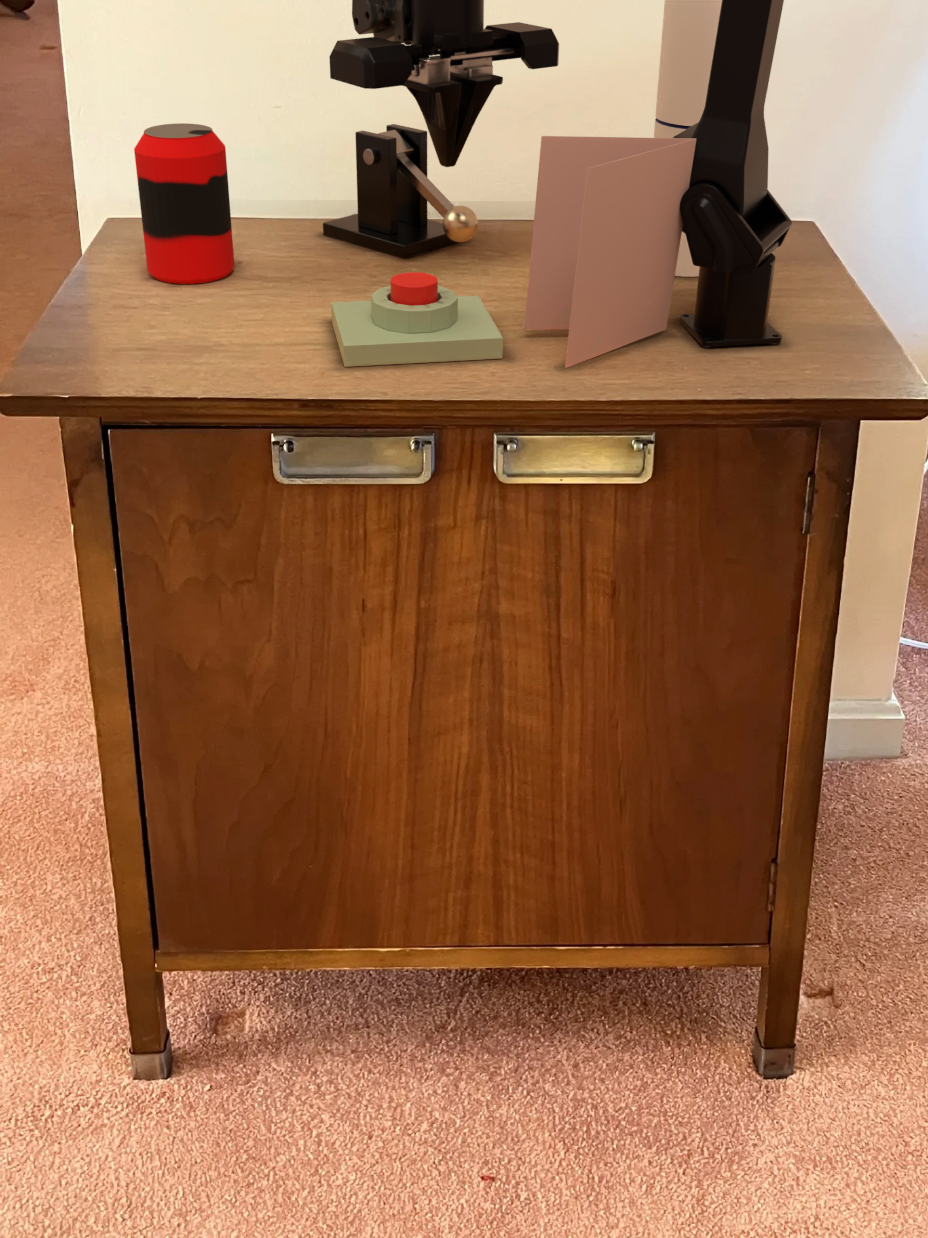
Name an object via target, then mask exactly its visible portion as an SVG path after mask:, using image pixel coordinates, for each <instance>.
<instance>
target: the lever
mask: <svg viewBox="0 0 928 1238" xmlns="http://www.w3.org/2000/svg"><path fill="white" fill-rule="evenodd" d="M377 134H381V135H385V136H390V137H394V138H396V144H397V172H398V171H400V172H401V173H402V174H403V176H404V177H405V178H406V179H407V180H408V181H409V182H410V183H411V184H412V185H413V186H414V187H415V188H416V189H417V190H418V191H419V192H420V194H421V195H422V196H423V197H424V198H425V199H426V200H427V203H429V204H430V206H432V208H434V210H435V211H436V212H437V213H438V214H439V215H440V216H441V217H442V218H443V220H442V223H443V230H444V232H445V234H446V235H447V237H448V238H450V239H451V240H453V241H455V242H458V243H465V242H467V241H470V240H471V239H472V238H473V237H474V236H475V235H476V233H477V231H478V227H479V221H478V218H477V214H476V213H475V211H473V209H471V208H469V207H468V206H465V205H454V204H453V203H452V202H451V200H449V199H448V198H447V196H445V195H444V194H443V192H441V190H440V189H438V187H437V186H436V185H435V184H434V183H433V182H432V181H431V180H430V179H429V178H428V176H427V177H426V176H425V175H424V174H423V173H422V172H421V171H420V170H419V169H418V167H417V166H416V165H415V164H414V163H413V162H412V161H411V160H410V157H411V154H412V152H413V148H412V147H411V146H410V145H409V144H408V143H407V142H406V141H405V140H404V139H403V138H402V136H401V135H400V134H399V133H398V132H397V131H396V130H391V131H387V130H386V131H382V132H378V133H377Z"/></svg>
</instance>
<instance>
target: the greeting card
mask: <svg viewBox="0 0 928 1238" xmlns="http://www.w3.org/2000/svg"><path fill="white" fill-rule="evenodd" d="M540 138H541V140H540V149H539V160H538V171H537V182H536V191H535V192H536V193H535V195H536V196H535V204H534V215H533V226H532V228H533V229H532V238H531V239H532V240H531V249H530V260H529V262H530V263H529V270H528V271H529V273H528V282H527V292H526V304H525V316H524V325H523V330H528V331H529V330H568V338H567V348H566V354H565V363H564V364H565V366H564V368H565V369H567V368H569V367H573V366H575V365H578V364H580V363H583V362H585V361H588V360H590V359H593V358H595V357H598V356H601V355H604V354H606V353H608V352H611V351H614V350H616V349H618V348H622V347H624V346H626V345H629V344H632V343H634V342H637V341H640V340H642V339H645V338H647V337H650V336H653V335H655V334H658V333H660V332H663V331H666V330H667V328H668V327H667V326H668V321H669V314H670V309H671V302H672V296H673V291H674V284H675V278H676V276H675V271H676V265H677V259H678V252H679V246H680V240H681V233H682V227H683V222H682V218H681V214H680V202H681V199H682V196H683V195H684V193H685V192H686V191H687V190H688V189H689V183H690V177H691V170H692V164H693V158H694V152H695V145H696V139H695V138H654V137H629V136H627V137H626V136H625V137H624V136H574V135H573V136H572V135H571V136H570V135H568V136H564V135H559V136H558V135H541V137H540Z"/></svg>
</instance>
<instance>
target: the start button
mask: <svg viewBox="0 0 928 1238" xmlns="http://www.w3.org/2000/svg"><path fill="white" fill-rule="evenodd" d="M438 285H439V280H438V278H437V276H435V275H433V274H430V273H426V272H418V271H417V272H414V271H413V272H412V271H411V272H403V273H398V274H395V275H393V276H392V277H391V278H390V286H391V301H392V302H394V303H396V304H403V305H410V306H415V305H428V304H431V303H435V302H438Z"/></svg>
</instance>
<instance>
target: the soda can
mask: <svg viewBox="0 0 928 1238" xmlns="http://www.w3.org/2000/svg"><path fill="white" fill-rule="evenodd" d="M133 151H134V161H135V170H136V179H137V187H138V197H139V206H140V214H141V224H142V232H143V241H144V251H145V259H146V269H147V272H148V273H149V274H150V275H151V276H152V277H153V278H154V279H156V280H158V281H160V282H164V283H168V284H177V285H180V284H181V285H196V284H197V285H198V284H204V283H211V282H216V281H219V280H221V279H223V278H226V277H228V276H229V275H230V274H231V273H232V271H233V270H234V269H235V254H234V253H235V252H234V241H233V230H232V216H231V203H230V202H231V201H230V188H229V177H228V175H229V174H228V164H227V151H226V145H225V144H224V142H223V141H222V140H221V139H220V137H219V136H218V135H217V134H216V133H215V132H214V131H213V128H212V127H210V126H208V125H205V124H198V123H187V122H186V123H181V122H179V123H165V124H158V125H153V126H150V127H148V128H145V129H144V130H143V133H142V135H141V137H140V138H139V140H138V142H137V144H136V145H135V146H134V148H133Z"/></svg>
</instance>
